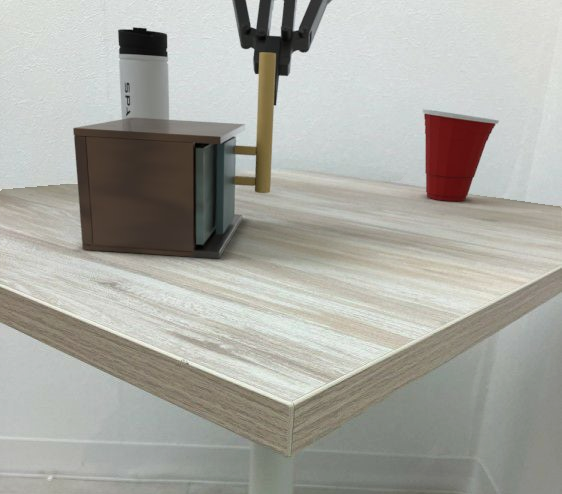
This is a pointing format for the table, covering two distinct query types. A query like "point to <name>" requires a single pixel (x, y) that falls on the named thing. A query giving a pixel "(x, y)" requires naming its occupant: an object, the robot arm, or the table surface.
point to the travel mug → (143, 74)
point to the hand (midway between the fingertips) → (268, 95)
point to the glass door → (248, 149)
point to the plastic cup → (453, 152)
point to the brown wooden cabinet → (151, 186)
